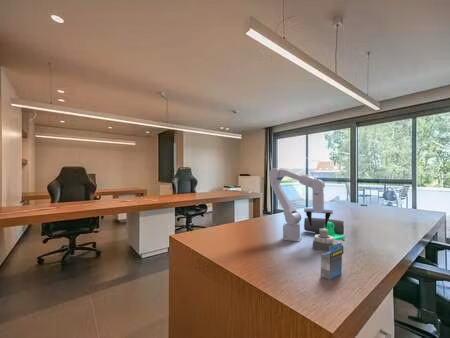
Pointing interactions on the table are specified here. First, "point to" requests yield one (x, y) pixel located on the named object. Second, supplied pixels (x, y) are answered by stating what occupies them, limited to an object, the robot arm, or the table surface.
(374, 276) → the table surface
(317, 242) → the camera body
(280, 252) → the table surface
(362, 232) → the table surface
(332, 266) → the label tape box
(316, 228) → the bluetooth speaker
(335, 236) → the camera mount
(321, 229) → the lens
